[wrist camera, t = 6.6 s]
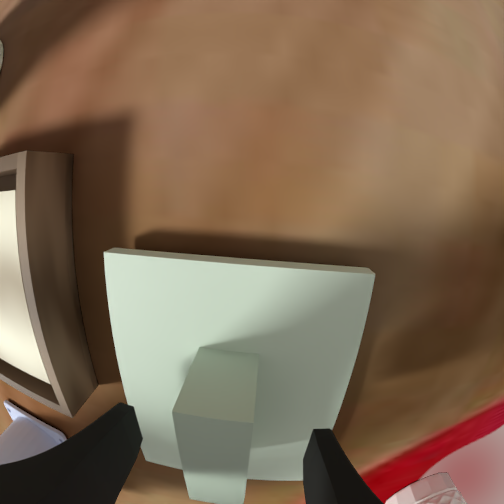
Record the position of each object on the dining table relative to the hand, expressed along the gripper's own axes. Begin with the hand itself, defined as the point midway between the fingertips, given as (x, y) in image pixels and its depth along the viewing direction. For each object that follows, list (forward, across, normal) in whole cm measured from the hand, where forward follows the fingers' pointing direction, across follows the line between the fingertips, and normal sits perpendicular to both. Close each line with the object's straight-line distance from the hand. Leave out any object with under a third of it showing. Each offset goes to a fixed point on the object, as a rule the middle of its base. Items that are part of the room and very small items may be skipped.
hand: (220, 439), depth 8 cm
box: (+3, +12, -4) cm, 13 cm away
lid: (+3, 0, 0) cm, 3 cm away
